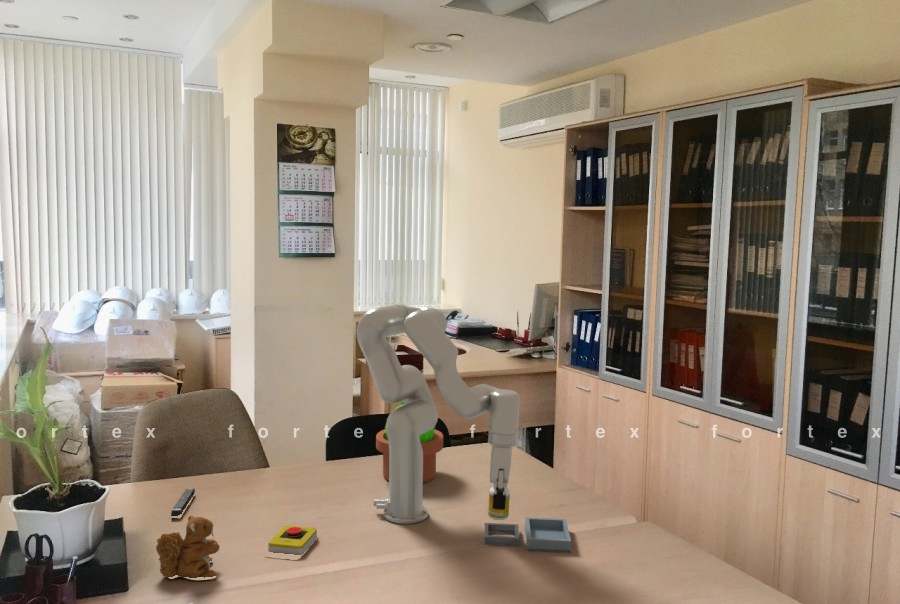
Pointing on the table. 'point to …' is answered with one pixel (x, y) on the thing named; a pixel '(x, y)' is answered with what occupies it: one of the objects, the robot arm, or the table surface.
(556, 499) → the table surface
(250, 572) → the table surface
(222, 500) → the table surface
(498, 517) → the supplement bottle
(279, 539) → the emergency button
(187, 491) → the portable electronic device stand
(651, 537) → the table surface
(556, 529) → the tray
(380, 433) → the potted cactus
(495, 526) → the cradle
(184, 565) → the stuffed squirrel
